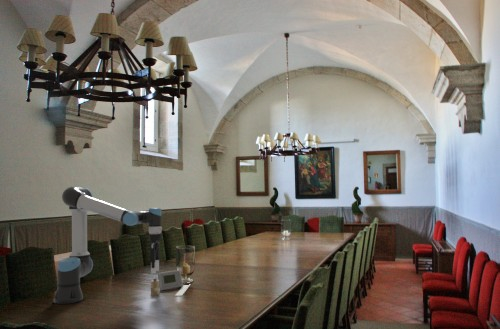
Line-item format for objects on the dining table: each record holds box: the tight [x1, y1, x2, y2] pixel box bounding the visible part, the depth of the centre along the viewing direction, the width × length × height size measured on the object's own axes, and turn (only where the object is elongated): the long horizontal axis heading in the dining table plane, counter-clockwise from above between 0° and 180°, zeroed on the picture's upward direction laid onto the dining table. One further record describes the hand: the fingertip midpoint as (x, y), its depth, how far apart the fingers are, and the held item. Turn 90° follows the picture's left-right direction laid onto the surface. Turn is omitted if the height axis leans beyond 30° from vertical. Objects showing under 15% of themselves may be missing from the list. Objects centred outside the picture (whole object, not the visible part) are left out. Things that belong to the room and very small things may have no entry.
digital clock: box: [157, 269, 184, 291], centre depth 259 cm, size 16×9×11 cm, turn 119°
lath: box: [174, 284, 192, 297], centre depth 256 cm, size 4×36×1 cm, turn 179°
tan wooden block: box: [150, 278, 160, 296], centre depth 243 cm, size 4×4×9 cm
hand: (155, 272), depth 244 cm, fingers open, 7 cm apart
